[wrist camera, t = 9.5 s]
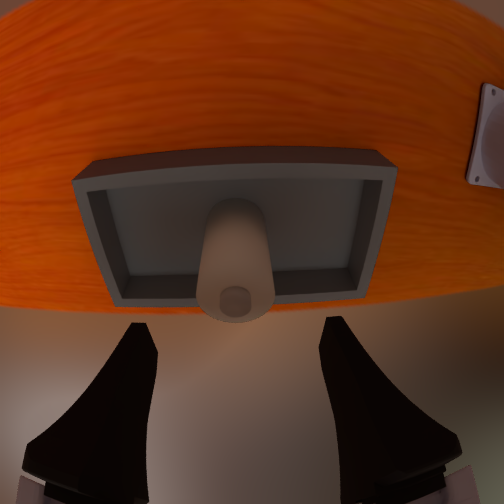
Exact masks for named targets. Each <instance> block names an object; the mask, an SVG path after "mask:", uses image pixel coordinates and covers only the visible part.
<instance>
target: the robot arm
mask: <svg viewBox="0 0 504 504" xmlns="http://www.w3.org/2000/svg"><path fill="white" fill-rule="evenodd" d="M475 178H476V179H475ZM466 180H467V182H468V183H470V184H474V185H481V186H488V187H494V188H501V189H504V90H502V89H500V88H497V87H495V86H493V85H491V84H488V83H485V84H484V85H483V87H482V95H481V103H480V111H479V117H478V124H477V129H476V135H475V140H474V145H473V150H472V155H471V159H470V163H469V167H468V172H467V175H466ZM319 353H320V360H321V367H322V372H323V376H324V380H325V383H326V387H327V391H328V394H329V399H330V403H331V406H332V410H333V414H334V419H335V425H336V432H337V441H338V451H339V464H340V487H341V488H340V489H341V495H340V499H341V504H359V503H362V504H480V500H479V495H478V491H477V487H476V483H475V479H474V475H473V471H472V468H471V465H468V466H466V467H465V468H462V469H460V470H458V471H456V472H454V473H452V474H450V475H448V476H446V477H444V475H443V472H445V471H446V467H445V464H446V463H448V462H450V461H452V460H454V459H455V458H457V457H459V456H460V455H461V454H462V449H461V446H460V443H459V440H458V437H457V435H456V434H455V433H453V432H451V431H450V430H448V429H447V428H445V427H443V426H442V425H440V424H439V423H437V422H436V421H435V420H433V419H432V418H431V417H429V416H428V415H427V414H425V413H424V412H423V411H422V410H420V409H419V408H418V407H417V406H416V405H415V404H413V403H412V402H411V401H410V400H409V399H408V398H407V397H406V396H405V395H404V394H403V393H402V392H401V391H400V390H398V388H397V387H396V386H395V385H394V384H393V383H392V382H391V381H390V380H389V379H388V378H387V377H386V375H385V374H384V373H383V372H382V371H381V370H380V368H379V367H378V366H377V365H376V364H375V362H374V361H373V360H372V358H371V357H370V356H369V355H368V353H367V352H366V351H365V349H364V348H363V346H362V345H361V344H360V342H359V341H358V339H357V338H356V337H355V335H354V334H353V332H352V331H351V329H350V328H349V326H348V325H347V323H346V322H345V321H344V319H343V317H342V316H333V317H326V321H325V325H324V329H323V332H322V336H321V340H320V344H319ZM157 358H158V351H157V349H156V347H155V344H154V342H153V339H152V337H151V334H150V332H149V329H148V327H147V325H146V323H131V325H130V326H129V328H128V329H127V331H126V332H125V334H124V336H123V338H122V339H121V340H120V342H119V343H118V345H117V347H116V348H115V350H114V351H113V353H112V354H111V356H110V357H109V359H108V360H107V362H106V363H105V365H104V366H103V368H102V369H101V370H100V372H99V373H98V374H97V376H96V377H95V379H94V380H93V381H92V383H91V384H90V385H89V386H88V388H87V389H86V390H85V392H84V393H83V394H82V395H81V396H80V397H79V398H78V400H77V401H76V402H75V403H74V404H73V405H72V406H71V407H70V408H69V409H68V410H67V411H66V413H64V414H63V415H62V416H61V417H60V418H59V419H58V420H57V421H56V422H55V423H54V424H52V425H51V426H50V427H49V428H48V429H47V430H45V431H44V432H43V433H42V434H40V435H39V436H37V437H36V438H35V439H34V440H32V441H31V442H29V443H28V444H27V446H26V450H25V455H24V460H23V465H22V469H23V471H25V472H28V473H29V474H31V475H33V476H35V477H37V478H40V479H42V480H44V481H46V483H45V486H44V485H42V484H39V483H37V482H35V481H33V480H30V479H28V478H26V477H24V476H20V479H19V485H18V492H17V499H16V504H147V503H148V502H149V496H148V486H147V470H146V438H147V423H148V416H149V411H150V405H151V399H152V394H153V389H154V384H155V378H156V371H157Z"/></svg>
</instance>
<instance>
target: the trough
mask: <svg viewBox="0 0 504 504" xmlns="http://www.w3.org/2000/svg"><path fill="white" fill-rule="evenodd" d="M397 170H398V167H397V166H395V165H394V164H393V163H392V162H390V161H389V160H388V159H387V158H385V157H384V156H383V155H382V154H380V153H379V152H378V151H376V150H366V149H352V148H335V147H308V146H251V147H223V148H205V149H191V150H179V151H168V152H158V153H149V154H141V155H133V156H125V157H118V158H111V159H105V160H99V161H93V162H92V163H91V164H89V165H88V166H87V167H86V168H85V169H84V170H83V171H81V172H80V173H79V174H78V175H77V176H76V177H75V178H74V179H73V180H71V181H72V185H73V188H74V192H75V196H76V199H77V203H78V206H79V210H80V213H81V216H82V219H83V222H84V226H85V229H86V232H87V235H88V238H89V241H90V243H91V246H92V249H93V252H94V255H95V257H96V260H97V263H98V265H99V268H100V271H101V273H102V276H103V278H104V281H105V283H106V286H107V288H108V291H109V293H110V295H111V298H112V300H113V302H114V305H115V307H200V306H199V304H198V302H197V299H196V289H197V282H198V275H199V268H200V262H201V255H202V248H203V242H204V236H205V230H206V224H207V218H208V215H209V213H210V211H211V209H212V208H213V207H214V206H215V205H216V204H218V203H219V202H221V201H223V200H226V199H230V198H241V199H245V200H248V201H250V202H252V203H254V204H255V205H256V206H257V207H258V208H259V209H260V210H261V212H262V214H263V216H264V221H265V227H266V234H267V241H268V247H269V254H270V261H271V268H272V275H273V282H274V289H275V300H274V303H273V304H287V303H304V302H319V301H332V300H345V299H356V298H365V295H366V292H367V289H368V286H369V283H370V279H371V276H372V273H373V270H374V266H375V263H376V259H377V256H378V252H379V248H380V245H381V241H382V237H383V233H384V229H385V225H386V221H387V217H388V213H389V209H390V204H391V200H392V195H393V190H394V185H395V180H396V175H397Z"/></svg>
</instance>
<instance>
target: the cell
mask: <svg viewBox="0 0 504 504" xmlns="http://www.w3.org/2000/svg"><path fill="white" fill-rule="evenodd" d="M196 299H197V302H198V304H199V306H200V308H201V309H202V310H203V311H204V312H205V313H206V314H208V315H209V316H211V317H213V318H215V319H217V320H220V321H224V322H231V323H241V322H247V321H251V320H254V319H256V318H259V317H260V316H262V315H264V314H265V313H266V312H267V311H268V310H269V309H270V308H271V306H272V305H273V303H274V300H275V289H274V282H273V275H272V268H271V261H270V254H269V247H268V241H267V234H266V227H265V221H264V216H263V214H262V212H261V210H260V209H259V208H258V207H257V206H256V205H255V204H254V203H252V202H250V201H248V200H245V199H241V198H230V199H226V200H223V201H221V202H219V203H218V204H216V205H215V206H214V207H213V208H212V209H211V211H210V213H209V215H208V218H207V224H206V230H205V236H204V242H203V248H202V255H201V262H200V268H199V275H198V282H197V289H196Z"/></svg>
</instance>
